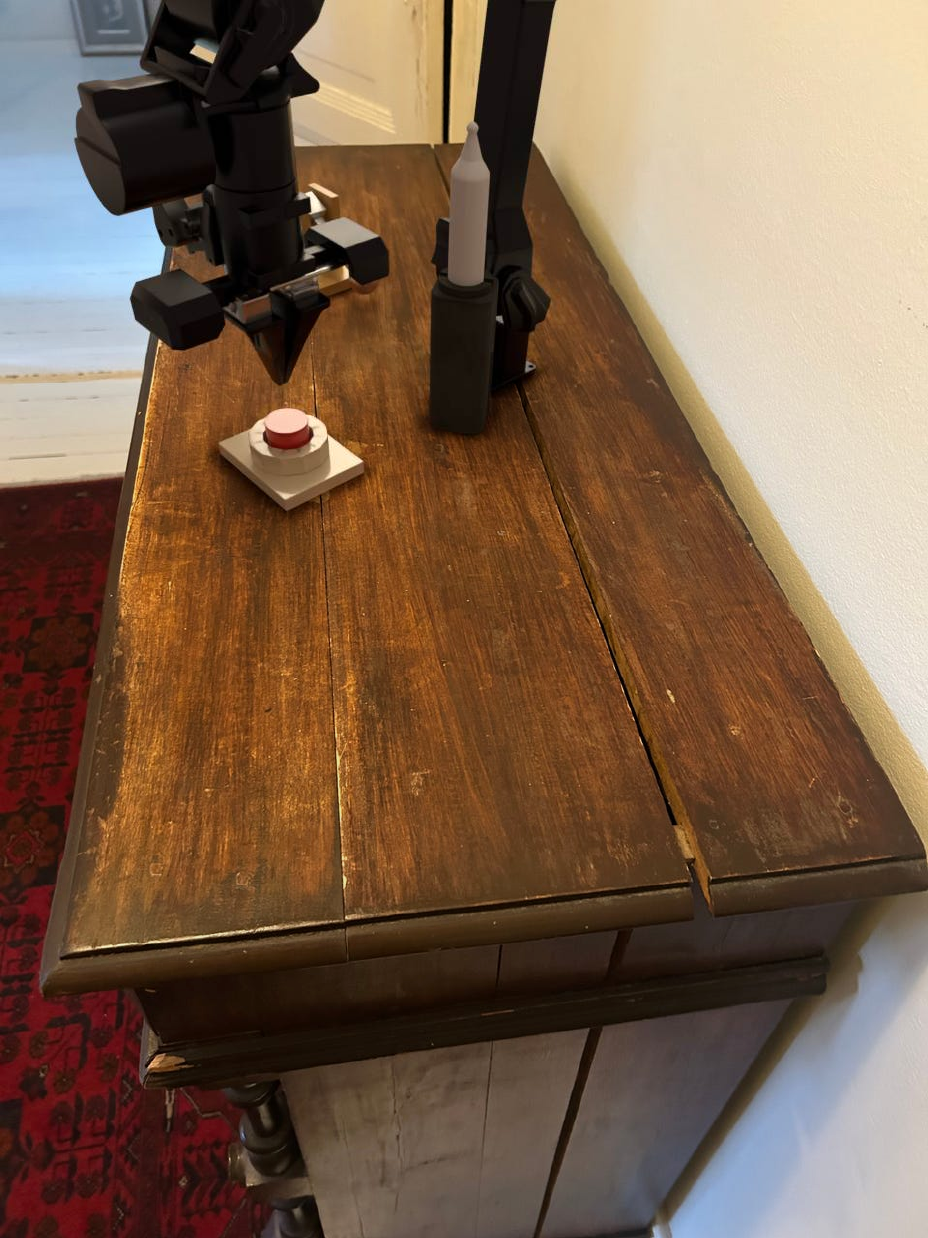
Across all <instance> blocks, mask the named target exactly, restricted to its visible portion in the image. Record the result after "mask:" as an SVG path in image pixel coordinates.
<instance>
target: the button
mask: <svg viewBox="0 0 928 1238" xmlns="http://www.w3.org/2000/svg"><path fill="white" fill-rule="evenodd" d="M307 415H308V414H306V413H305V412H304V411H302V410H299V409H296V408H290V407H289V408H288V407H287V408H278V409H276V410H273V411H271V412H270V413H268V414H267V415H266V416H265V417H264V418H265V421H264V424H265V431H266V437H267V442H268V444H269V445H270V446H271V447H273V448H278V449H282V450H289V449H298V448H300V447H302V446H304V445H306V444H307V443H308V442H309V440H310V430H309V421H308V417H307Z"/></svg>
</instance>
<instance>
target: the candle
mask: <svg viewBox="0 0 928 1238" xmlns="http://www.w3.org/2000/svg"><path fill="white" fill-rule="evenodd" d="M466 131H467V134H466V137H465V141H464V144H463V148H462V150H461V153H460V157H459V158H458V160H457V161H456V162H455V163H454V165H453V167H452V168H451V172H450V189H449V190H450V192H449V193H450V194H449V218H450V224H449V258H448V267H447V268H445V269H443V270H441V271H440V274H439V276H438V278H437V277H436V280H435V282H434V284H433V285H432V288H431V291H430V335H429V337H430V338H429V339H430V343H429V344H430V345H429V347H430V352H429V413H428V414H429V415H428V423H429V425H430V426H431V427H432V428H433V429H435V430H439V431H445V432H452V433H456V434H457V433H458V434H464V435H478V434H479V433H482V432H483V431H484V429H485V420H486V417H487V414H489V413H490V407H491V395H492V394H491V393H492V392H491V381H492V367H493V354H494V340H495V327H496V313H497V300H498V286H499V281H498V279H497V278H496V277H494V276H493V275H492V274H491V273H490V272H489V271H487V270H486V269H484V263H485V247H486V230H487V213H488V197H489V180H490V172H489V170H488V168H487V166H486V164H485V162H484V161H483V159H482V155H481V151H480V146H479V142H478V137H477V131H478V125H477V124H476V123H475V122H473V121H470V122H468V123H467V125H466Z"/></svg>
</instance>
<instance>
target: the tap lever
mask: <svg viewBox="0 0 928 1238" xmlns="http://www.w3.org/2000/svg"><path fill="white" fill-rule="evenodd" d="M303 193H304V194H306V195H307V196H309V197H310V200H311V213H309V221H310V227H313V226H316V225H319V224H322V223H325V222H326V221H325V215H326V208H325V207H324V206H323V205H322V203H321V202H320V201H319V200H318V199H317V197H316V196H315V195H314V194H313V192H308V191H307V192H303ZM345 267H346V268H347V269H348V265H345ZM349 283H350V286H351V287H352V288H351V289H352V290H353V291H354V292H355V293H357V294H359V295H362V296H363V295H364V296H366V295H370V294H372V293H373V292H375V291H376V290H377V288H378V286H379V284H380V279H379V280H376V281H374V282H371V283H368V284H365V285H363V286H362V285H360V284H359V283H357V282H356V281H355V280H353V279H352V278H351V277H350V276H349Z"/></svg>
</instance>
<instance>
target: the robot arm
mask: <svg viewBox="0 0 928 1238" xmlns="http://www.w3.org/2000/svg"><path fill="white" fill-rule="evenodd" d="M557 1H558V0H487V2H486V11H485V20H484V28H483V37H482V46H481V53H480V63H479V70H478V78H477V88H476V94H475V95H476V97H475V104H474V113H473V121H472V122H475V123H476V124H477V125H478V131H477V137H478V142H479V146H480V151H481V155H482V159H483V161H484V162H485V164H486V166H487V168H488V170H489V172H490V180H489V197H488V213H487V230H486V247H485V263H484V269H486V270H487V271H489V272H490V273H491V274H492V275H493V276H494V277H496V278H497V279H498V281H499V286H498V300H497V313H496V327H495V340H494V354H493V367H492V381H491V393H495V392H497V391H499V390H501V389H503V388H505V387H507V386H509V385H511V384H513V383H515V382H517V381H520V380H521V379H524V378H526V377H528V376H530V375H532V374H534V373H535V372H536V370H537V366H536V364H535V363H533V362H531V361H529V360H528V359H527V358H528V350H529V349H528V348H529V339H530V333H532V332H535V331H536V327H537V325H538V324H540V323H543V322H544V321H545V319H546V317H547V314H548V310H549V309H550V305H551V302H552V297H550V295H549V294H548V293H546V291H545V290H544V289H543V288H542V287H541V286H540V285H539V283H537V281H536V280H535V279H534V278H533V276H532V275H533V274H532V273H533V258H534V257H533V255H534V241H533V239H532V236H531V232H530V229H529V228H530V227H529V225H528V222H527V219H526V215H525V211H524V208H523V206H524V205H523V203H524V197H525V191H526V184H527V178H528V171H529V164H530V160H531V154H532V153H531V152H532V147H533V139H534V134H535V128H536V121H537V115H538V110H539V103H540V97H541V91H542V84H543V78H544V71H545V66H546V59H547V53H548V48H549V40H550V36H551V35H550V34H551V27H552V22H553V16H554V10H555V6H556V2H557ZM325 2H326V0H160V3H159V6H158V9H157V12H156V14H155V18H154V20H153V23H152V26H151V29H150V31H149V35H148V37H147V40H146V42H145V46H144V48H143V50H142V54H141V57H140V59H139V67H140V69H141V70H142V71H143V72H145V73H146V74H142V75H136V76H131V77H126V78H120V79H115V80H106V79H93V80H88V81H83V82H79V83H78V84H77V87H76V89H77V94H78V97H79V102H80V105H81V107H80V108H78V110H77V111H76V116H75V132H76V137H74V138H73V141H74V146H75V150H76V153H77V156H78V160H79V163H80V165H81V167H82V171H83V172H84V173H83V174H84V175H85V177H86V180H87V181H88V184H89V186H90V188H91V190H92V191H93V193H94V195H95V196H96V199H98V201H99V202H100V203H101V205H102V206H103V207H104V208H105V209H106V211H107V212H108V213H110V214H111V215H113V216H116V217H120V216H124V215H129V214H132V213H135V212H139V211H142V210H147V209H149V208H151V209H152V215H153V222H154V226H155V229H156V232H157V234H158V238H159V240H160V242H161V244H162V245H163V246H164V247H165V248H168V249H169V248H171V249H172V248H173V249H174V248H180V247H183V246H185V247H186V250H187V253H188V254H189V255H194V254H196V252H204V257H205V261H206V262H207V263H208V264H210V265H212V266H213V267H216V268H217V267H220V266H222V267H223V268H224V274H225V275H222V276H221V275H220V276H219V277H215V278H212V279H209V280H207V281H203V282H200V281H199V280H197V279H196V278H195V277H194V276H192V275H190V274H189V273H188V272H187V271H185V270H184V269H182V268H180V267H178V268H176V269H173V270H169V271H166V272H163V273H160V274H157V275H154V276H150V277H147V278H144V279H141V280H137V281H135V282H134V285H133V287H132V289H131V292H130V296H129V301H130V305H131V310H132V314H133V317H134V321H136V323H138V324H139V325H141V326H142V327H143V328H144V329H145V330H147V331H148V332H149V333H151V334H152V335H153V336H154V337H155V338H157V339H158V340H159V341H161V342H162V343H163V344H164V345H165V346H167V347H168V348H169V349H170V350H172V351H180V352H182V351H183V352H185V351H188V350H190V349H193V348H196V347H199V346H201V345H204V344H207V343H209V342H213V341H215V340H218V339H219V337H220V336H221V334H222V332H223V330H224V328H225V327H226V324H227V323H226V321H228V322H229V323H230V324H232V325H233V326H234V327H236V328H237V329H239V330H240V331H241V332H243V333H244V334H245V335H246V337H247V338H248V340H249V341H250V343H251V345H252V347H253V349H254V350H255V352H256V354H257V356H258V358H259V359H260V361H261V363H262V364H263V365H262V366H263V367H264V368H265V370H266V372H267V373H268V376H269V377H270V379H271V381H272V382H273V383H274V384H276V385H277V386H278V387H281V386H283V385H285V384H288V383H289V381H290V379H291V377H292V374H293V372H294V370H295V367H296V366H297V363H298V360H299V358H300V355H301V353H302V352H303V349H304V346H305V345H306V343H307V340H308V338H309V336H310V334H311V333H312V330H313V329H314V327H315V325H316V323H317V322H318V319H319V317H321V314H322V313H323V312H324V310H327V309H329V308H330V307H331V302H332V301H331V298H330V296H326V295H324V294H323V293H321V292H320V291H319V284H318V283H317V282H318V275H321V274H324V273H327V272H330V271H333V270H335V269H338V268H340V267H342V266H345V265H348V273H349V276H350V277H351V278H352V279H353V280H355V281H356V282H357V283H359V284H360V285H362V286H363V285H365V284H368V283H371V282H374V281H376V280H379V281H380V280H381V279H385V278H387V277H390V272H391V271H390V250H389V248H388V245H387V243H386V242H385V240H384V239H383V238H382V237H381V235H379V234H377V233H375V232H373V231H372V230H370V229H368V228H367V227H365V226H362V225H361V224H359V223H357V222H356V221H353V220H352V219H350V218H348V217H346V216H342V217H341V216H340V218H338V219H335V220H332V221H329V222H325V223H322V224H319V225H316V226H313V227H309V228H308V230H307V231H306V232H305V234H304V235H303V231H302V220H301V215H304V214H308V213H311V200H310V197H309V196H307V195H306V194H304V193H305V192H302V191H300V190H299V189H300V188H299V179H298V168H297V167H298V166H297V158H296V156H297V155H296V147H295V146H296V145H295V136H294V135H295V133H294V124H293V113H292V103H291V100H292V99H295V98H300V97H303V96H307V95H308V96H309V95H313V94H316V93H318V92H319V91H320V88H321V85H320V82H319V80H318V79H317V78H316V77H314V76H313V75H311V73H310V72H308V71H307V70H306V69H305V68H304V67H303V66H302V65H301V64H300V62H299V61H298V60H297V58H296V56H295V55H294V53H293V52H292V51H293V50H295V48H296V47H297V46H298V44H299V43H300V42H301V41H302V40H303V39H304V38H305V36H306V35H307V34H308V33H309V32H310V31H311V30H312V29H313V27H315V25H316V24H317V22H318V21H319V18H320V16H321V12H322V10H323V6H324V4H325ZM196 46H198V47H201V48H203V49H205V50H207V51H210V52H212V53H214V54H215V55H214V56H215V57H214V59H213V62H210V61H208V60H206V59H205V58H202V57H200V56H198V55H196V54H194V53H191V52H192V51H193V50H194V48H195V47H196ZM198 195H201V200H200V201H198V202H193V203H190V204H188V203H187V201H186V200H185V199H186V198H190V197H194V196H198ZM449 224H450V217H445V216H444V217H442V216H441V217H439V218H438V219H437V222H436V224H435V247H434V252H433V254H432V256H431V257H432V258H431V260H430V263H431V264H432V265H434V266H435V275H436V279H437V278H438V276H439V274H440V271H441V270H443V269H445V268H447V267H448V258H449ZM303 238H304V242H303Z"/></svg>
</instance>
